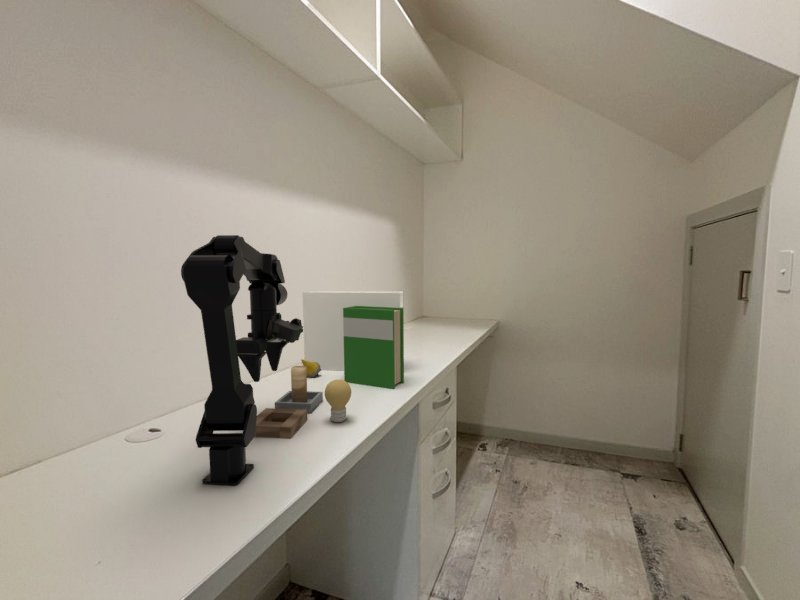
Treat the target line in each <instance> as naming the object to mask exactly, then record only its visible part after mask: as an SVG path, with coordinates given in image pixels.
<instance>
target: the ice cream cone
mask: <svg viewBox="0 0 800 600" xmlns="http://www.w3.org/2000/svg"><path fill="white" fill-rule="evenodd" d="M300 361H301V364H302V366H306V367H307V378H314V377H316V376H317V375H319V373H320V372H321V371H322V370H321V369H320V365H319V364H318V363H317V362H310V361H306V360H304V359H302V358H301V359H300Z"/></svg>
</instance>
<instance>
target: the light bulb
mask: <svg viewBox="0 0 800 600" xmlns="http://www.w3.org/2000/svg"><path fill="white" fill-rule="evenodd" d="M351 396H352V388H351V385H350V383H347V382H346V381H344V380H343V379H334V380H332V381H329V382H328V384H326V387H325V390H324V398H325V400H326V401H327V403H328V404H329V406H330V421H332V422H334V423H342V422H344V421H345V420H346V419H347V407H346V405H347V404H348V403H349V401H350V400H351Z"/></svg>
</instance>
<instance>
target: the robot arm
mask: <svg viewBox="0 0 800 600" xmlns="http://www.w3.org/2000/svg"><path fill="white" fill-rule="evenodd" d="M180 275H181V279H182V281H183V282H184V285H185V290H186V295H187V296H188V298H189V299H190V300H191V301H192V302H193V303H194V304H195V306H196V307H197V308H198V309H199V310H200V313H201V321H202V327H203V328H202V329H203V334H204V342H205V347H206V353H207V354H206V355H207V361H208V369H209V377H210V382H211V391H210V393H209V395H208V396H207V399H206V401H204V402H205V403H204V406H203V407H204V411H203V414H202V418H201V420H200V424H199V427H198V431H197V433H196V437H195V443H196V446H197V448H198V449H201V448H209V449H208V452H209V453H208V456H209V457H208V458H209V459H208V460H209V473H208V474H207V475H206V476H204V478H202V479H201V481H202V484H209V485H226V486H228V485H230V486H236V485H238V484H239V483H241V481H242V480H244V478H245V477H246V476H247V475H248V474H249V473H250V472H251V471H252V470H253V469H254V467H255V464H254V463H247V456H246V455H247V454H246V450H247V449H246V448H247V447H248V446H249V444H251V442H252V441H253V440H254V438H256V437H255V432H256V419H257V415H258V409H257V408H258V407H257V405H256V404H255V403H256V402H255V398H254V388H253V386H252V384H251V383H244V382H243V381H242V377H241V369H240V361H241V362H242V364H243V366H244V367H245V369H246V370H247V372H248V374H249V375H250V377H251V378H252V380H253V382H254V383H259V382H260V380H261V372H262V371H261V370H262V359H263V358H264V357H265V356H266V357H267V359H268V363H269V366H270V369H271V371H272V372H276V371H278V368H279V364H280V359H281V356H282V352H283V349H284V348H285V347H286V346H287V344H289V343H291V344H293V343H296V342H297V341H299V340H300V337H301V334H302V333H304V328H303V326H302V324H303V323H302V320H301V319H299V318H297V317H295V318H293V319H291V320H285V319H283V318H282V314H281V312H278V310H277V309H278V308H277V306H280V305H282V304H284V302H286V301H287V298H288V291H287V289H286V287H285V286H284V285H283V284H285V282H286V281H285V276H284V271H283V267H282V264H281V260H280V259H279V258H278V257H277V255H275V254H272V253H263V252H260V251H259V250H257V249H256V248H255V247H253V246H252V245H251V244H249V243H248V242H246V241H245V238H244V237H243V236H239V235H238V234H237V235H236V234H235V235H233V234H231V235H230V234H220V235H219V234H217V235H216V236H213V237H212V238H211V239H210V241H209V242H208V243H206V244H203V245H202V246H200V247H198V248H197V249H194V250H193V251H191V253H190V254H189V255H188V257H186V259H185V261H184V262H183V263H182V265H181V270H180ZM243 276H245V278H246V281H248V283H249V285H248V288H247V291H249V301H250V302H249V303H250V307H249V309H250V314H246V320H250V330H251V331H250V332H247V336H246V337H241V338H238V339H237V336H236V327H235V319H234V311H233V303H234V301H235V299H236V298H237V295H238V293H239V292H240V291H241V290H240V289H241V282H240V281H241V280H242V277H243ZM223 431H224V432H223ZM225 431H227V432H225ZM233 431H239V432H233ZM240 431H242V432H240ZM214 432H216V433H214ZM217 432H219V433H217Z"/></svg>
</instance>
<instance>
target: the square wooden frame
mask: <svg viewBox="0 0 800 600" xmlns="http://www.w3.org/2000/svg"><path fill="white" fill-rule="evenodd" d="M307 421H308V413H307V410H302V409H275V407H274V408H271V407H268V408H267V407H266V408H264V409H263V410H262V411H261V412H260V413H257V419H256V432H255V437H254V438H276V439H278V438H279V439H292V437H294V436H295V435H296V434H297V432H298V431H299V430H300V429H301V427H302V426H304V424H305V423H306V422H307Z"/></svg>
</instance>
